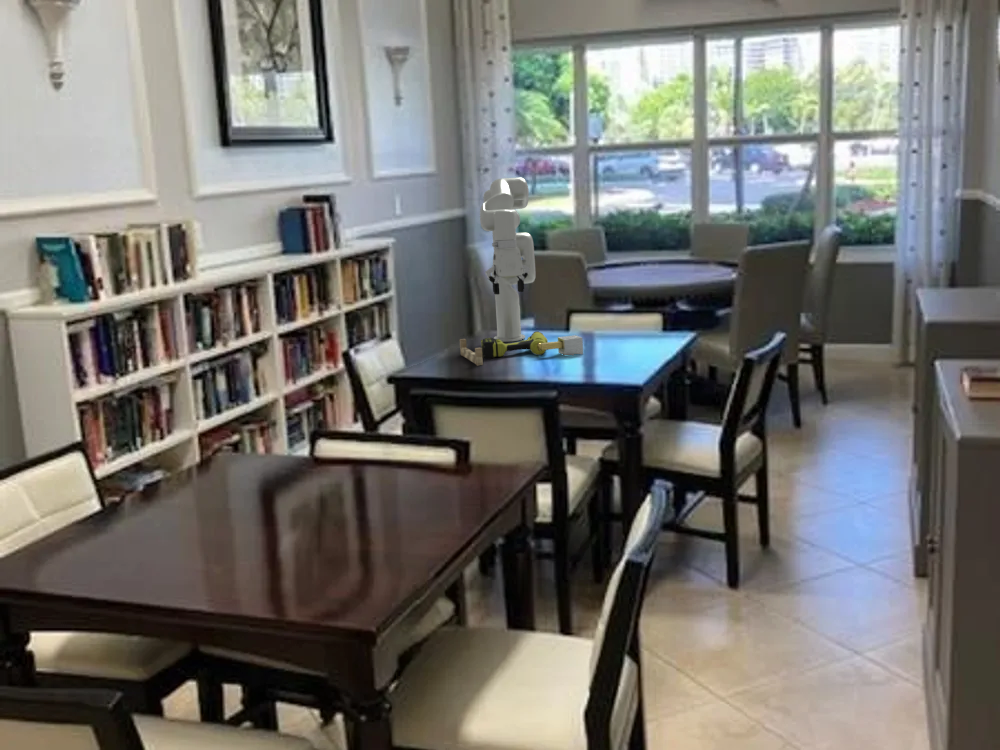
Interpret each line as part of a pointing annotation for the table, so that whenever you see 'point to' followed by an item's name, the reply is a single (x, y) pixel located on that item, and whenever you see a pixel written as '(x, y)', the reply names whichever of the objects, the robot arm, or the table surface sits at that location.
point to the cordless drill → (511, 345)
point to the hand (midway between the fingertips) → (508, 293)
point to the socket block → (571, 345)
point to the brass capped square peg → (549, 345)
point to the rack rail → (471, 353)
